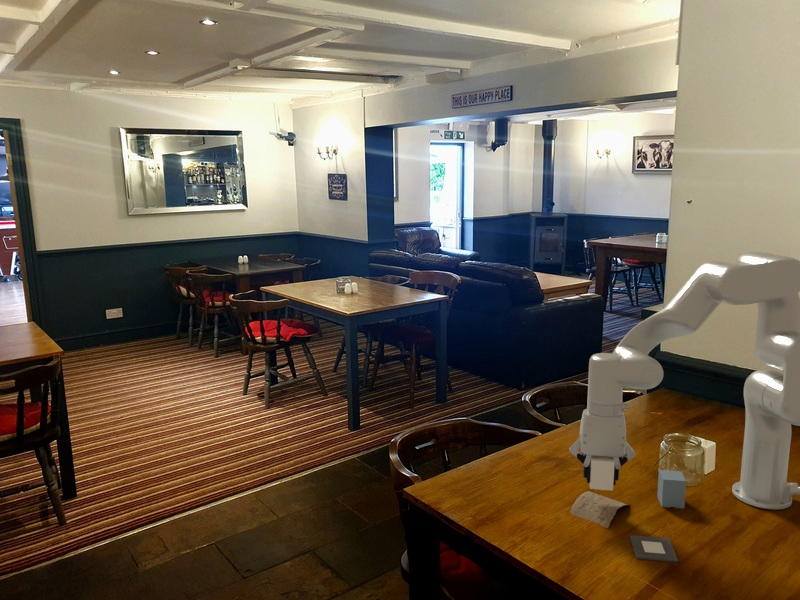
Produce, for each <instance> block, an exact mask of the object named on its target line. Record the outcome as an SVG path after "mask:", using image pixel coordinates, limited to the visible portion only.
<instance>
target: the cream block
mask: <svg viewBox="0 0 800 600" xmlns="http://www.w3.org/2000/svg"><path fill="white" fill-rule="evenodd" d="M614 464H615V462H614V460H613V457H605V456H592V458H591V461H590V467H591V473H590V483H588V484H589V489H590V490H601V491H614V485H613V482H614Z"/></svg>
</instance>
